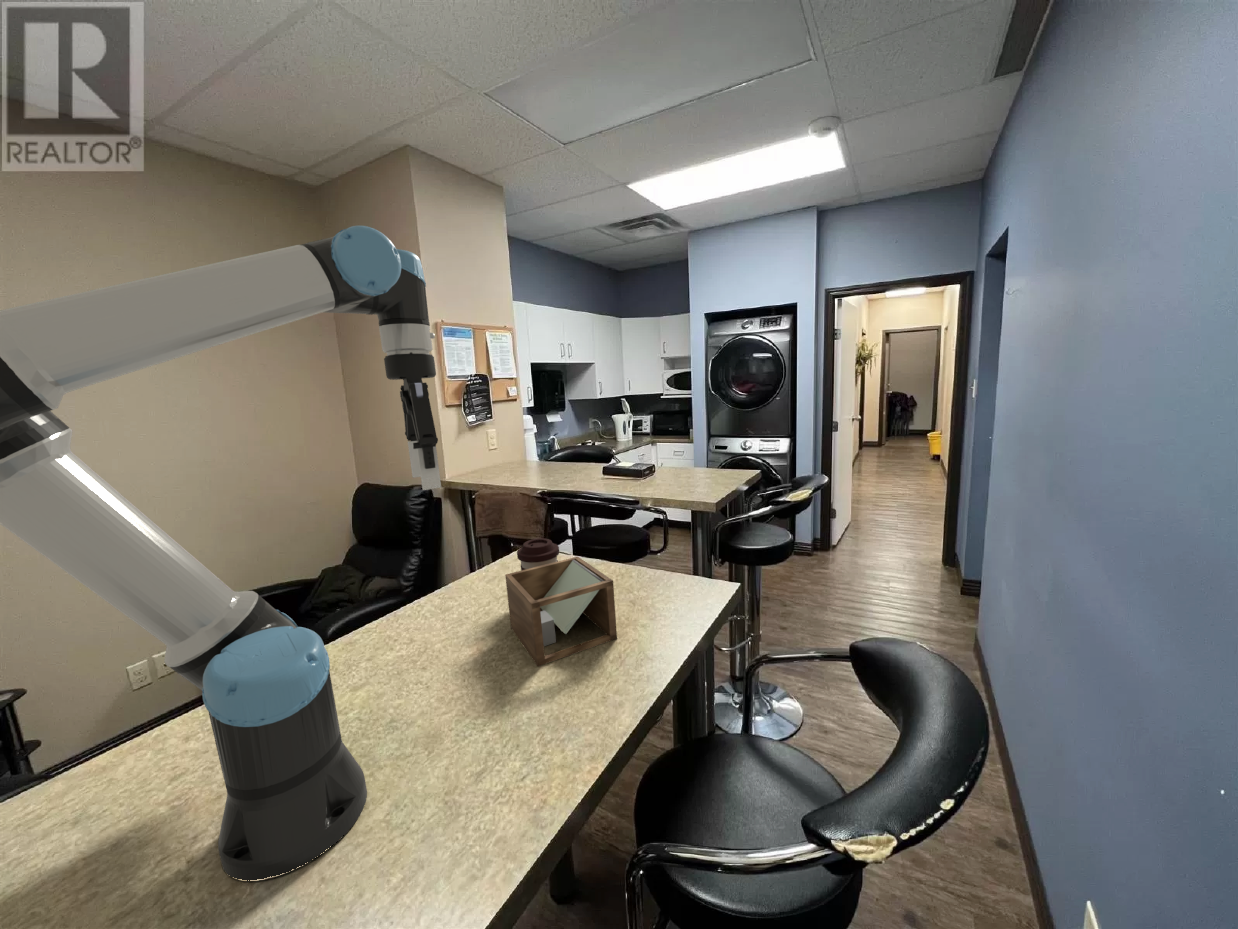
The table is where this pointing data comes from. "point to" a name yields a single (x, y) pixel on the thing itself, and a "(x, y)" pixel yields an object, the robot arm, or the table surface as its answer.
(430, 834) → the table surface
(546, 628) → the block
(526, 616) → the box frame
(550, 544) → the coffee cup
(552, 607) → the trapdoor
